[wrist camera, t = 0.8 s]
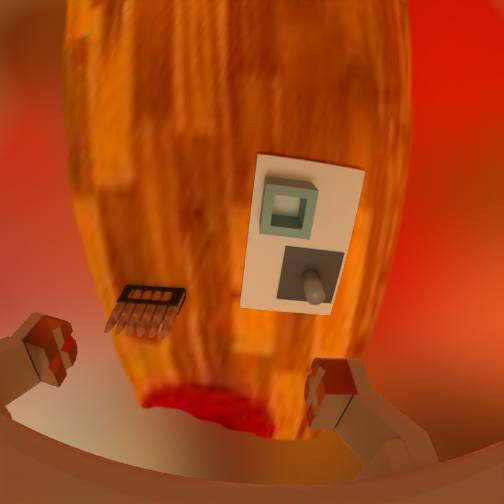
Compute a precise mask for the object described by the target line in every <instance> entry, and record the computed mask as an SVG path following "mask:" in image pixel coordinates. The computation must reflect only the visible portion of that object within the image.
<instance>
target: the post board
mask: <svg viewBox="0 0 504 504" xmlns="http://www.w3.org/2000/svg"><path fill="white" fill-rule="evenodd" d="M364 175H365V171H364V170H362V169H357V168H352V167H346V166H341V165H335V164H330V163H324V162H318V161H311V160H305V159H298V158H291V157H284V156H277V155H269V154H260V153H258V155H257V163H256V171H255V180H254V188H253V197H252V205H251V214H250V223H249V231H248V240H247V248H246V257H245V266H244V275H243V284H242V292H241V301H240V307H242V308H252V309H262V310H273V311H284V312H296V313H308V314H322V315H330V313H331V310H332V306H333V303H334V299H335V296H336V292H337V289H338V285H339V282H340V278H341V274H342V271H343V267H344V263H345V259H346V255H347V252H348V248H349V243H350V239H351V235H352V231H353V227H354V222H355V218H356V214H357V209H358V204H359V200H360V195H361V190H362V185H363V180H364ZM265 176H269V177H277V178H285V179H293V180H300V181H307V182H312V183H313V184H314V185H315V187H316V188H317V189H318V190H319V192H318V198H317V204H316V209H315V214H314V220H313V225H312V230H311V235H310V240H308V239H300V238H292V237H283V236H274V235H266V234H259V219H260V211H261V203H262V195H263V187H264V179H265ZM299 204H300V198H297V197H290V196H282V195H275V196H274V203H273V210H272V214H276V215H285V216H293V217H297V216H298V210H299Z"/></svg>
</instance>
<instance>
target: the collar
mask: <svg viewBox="0 0 504 504" xmlns="http://www.w3.org/2000/svg"><path fill="white" fill-rule="evenodd" d="M318 192H319V190H318V189H317V188H316V187H315V185H314V184H313V183H312V182H307V181H300V180H293V179H285V178H277V177H269V176H265V179H264V187H263V195H262V203H261V211H260V219H259V234H266V235H274V236H283V237H292V238H300V239H308V240H310V235H311V230H312V225H313V220H314V214H315V209H316V204H317V198H318ZM275 195H282V196H290V197H297V198H300V204H299V210H298V216H297V217H293V216H285V215H276V214H272V210H273V203H274V196H275Z"/></svg>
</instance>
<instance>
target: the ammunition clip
mask: <svg viewBox="0 0 504 504" xmlns="http://www.w3.org/2000/svg"><path fill="white" fill-rule="evenodd" d="M185 299H186V293H185V289H184V288H171V287H152V286H135V285H126V287H125V288H124V290H123V292H122V293H121V295H120V297H119V298H118V300H117V305H116V306H115V308H114V309H113V311H112V313H111V316H110V318H109V320H108V322H107V324H106V327H105V333H108V332H109V331H110V330H111V329H112V328H113V327H114V325H115V324H116V322H117V321H118V320H119V322H118V324H117V326H116V330H115V334H116V335H117V334H119V333H120V332H121V331H122V330H123V329H124V327H125V325H126V324H127V323H128V321H129V320H130V319H131V320H130V322H129V324H128V327H127V330H126V335H127V336H129V335H130V334H131V333H132V332H133V331H134V330H135V328H136V326H137V325H138V323H139V322H140V321H141V322H140V325H139V328H138V332H137V336H138V337H140V336H142V335H143V334H144V332H145V331H146V329H147V327H148V326H149V324H150V323H151V321H152V320H153V321H152V324H151V326H150V330H149V338H152V337H153V336H154V335H155V334H156V332H157V331H158V329H159V327H160V325H161V324H162V322H163V320H164V322H163V326H162V329H161V339H162V340H163V339H164V338H165V337H166V336H167V335H168V333H169V331H170V329H171V327H172V325H173V323H174V322H175V319H176V317H177V315H178V314H179V312H180V310H181V308H182V305H183V303H184V301H185ZM141 319H142V320H141Z"/></svg>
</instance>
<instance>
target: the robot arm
mask: <svg viewBox="0 0 504 504" xmlns="http://www.w3.org/2000/svg"><path fill="white" fill-rule="evenodd" d="M72 332H73V330H72V327H71V324H70V323H69V322H68V321H65V320H61V319H58V318H54V317H51V316H48V315H43V314H40V313H37V312H36V313H32V314H31V315H30V317H29V318H28V319H27V320H26V321H25V322H24V323H23V324H22V325H21V326H20V327H19V329H18V330H17V331H16V332H15V333H14V334H13V336H11V337H5V338H3V339H1V340H0V504H504V440H503V441H501V442H499V443H497V444H494V445H492V446H489V447H486V448H484V449H481V450H479V451H476V452H473V453H470V454H468V455H465V456H462V457H459V458H456V459H452V460H449V461H446V462H443V463H439V461H438V459H437V456H436V453H435V451H434V448H433V445H432V443H431V441H430V438H429V435H428V433H427V432H426V431H424V430H423V429H422V428H420V427H419V426H418V425H417V424H415V423H414V422H413V421H411V420H410V419H409V418H407V417H406V416H405V415H404V414H403V413H401V412H400V411H399V410H398V409H396V408H395V407H394V406H393V405H391V404H390V403H389V402H387V401H386V400H385V399H384V398H383V397H381V396H380V395H379V394H374V392H373V390H372V387H371V384H370V381H369V379H368V376H367V373H366V371H365V368H364V365H363V363H362V360H361V359H360V358H345V359H344V358H315V359H314V360H313V362H312V365H311V368H312V373H311V374H310V375H308V377H307V380H306V384H305V403H306V404H307V405H308V406H309V409H308V412H307V418H308V425H309V429H318V430H328V429H329V430H331V429H335V430H334V431H335V432H336V433H337V435H338V436H339V437H340V438H341V439H342V440H343V442H344V443H345V444H346V445H347V446H348V448H349V449H350V450H351V451H352V452H353V453H354V455H355V456H356V457H357V458H358V459H359V460H360V462H361V463H362V464H363V465H364V466H365V467H364V468H363V469H362V470H361V471H360V473H359V474H358V475H357V476H356V477H355V478H354V479H353V481H346V482H336V483H323V484H303V485H262V484H243V483H229V482H220V481H210V480H203V479H196V478H189V477H184V476H178V475H172V474H167V473H162V472H157V471H153V470H148V469H144V468H140V467H135V466H132V465H128V464H124V463H120V462H117V461H114V460H110V459H107V458H104V457H101V456H97V455H95V454H92V453H89V452H86V451H83V450H80V449H78V448H75V447H72V446H70V445H67V444H64V443H62V442H60V441H57V440H55V439H52V438H50V437H48V436H45V435H43V434H41V433H39V432H37V431H35V430H32V429H30V428H28V427H26V426H24V425H22V424H20V423H18V422H16V421H14V420H12V417H11V414H10V412H9V411H8V409H7V408H6V405H7V404H9V403H10V402H12V401H13V400H15V399H16V398H18V397H19V396H21V395H22V394H24V393H25V392H27V391H28V390H30V389H31V388H33V387H34V386H36V385H37V384H39V383H40V381H42V382H45V383H47V384H50V385H53V386H56V387H60V386H61V384H62V382H63V380H64V379H65V377H66V375H67V372H66V369H67V368H69V367H71V366H73V364H74V362H75V360H76V356H77V344H76V341H75V340H74V338H73V337H72V336H71V334H72Z"/></svg>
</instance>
